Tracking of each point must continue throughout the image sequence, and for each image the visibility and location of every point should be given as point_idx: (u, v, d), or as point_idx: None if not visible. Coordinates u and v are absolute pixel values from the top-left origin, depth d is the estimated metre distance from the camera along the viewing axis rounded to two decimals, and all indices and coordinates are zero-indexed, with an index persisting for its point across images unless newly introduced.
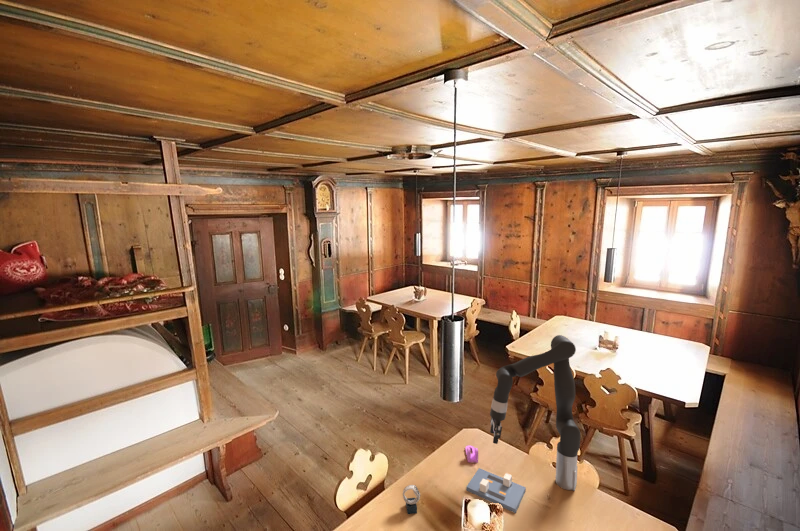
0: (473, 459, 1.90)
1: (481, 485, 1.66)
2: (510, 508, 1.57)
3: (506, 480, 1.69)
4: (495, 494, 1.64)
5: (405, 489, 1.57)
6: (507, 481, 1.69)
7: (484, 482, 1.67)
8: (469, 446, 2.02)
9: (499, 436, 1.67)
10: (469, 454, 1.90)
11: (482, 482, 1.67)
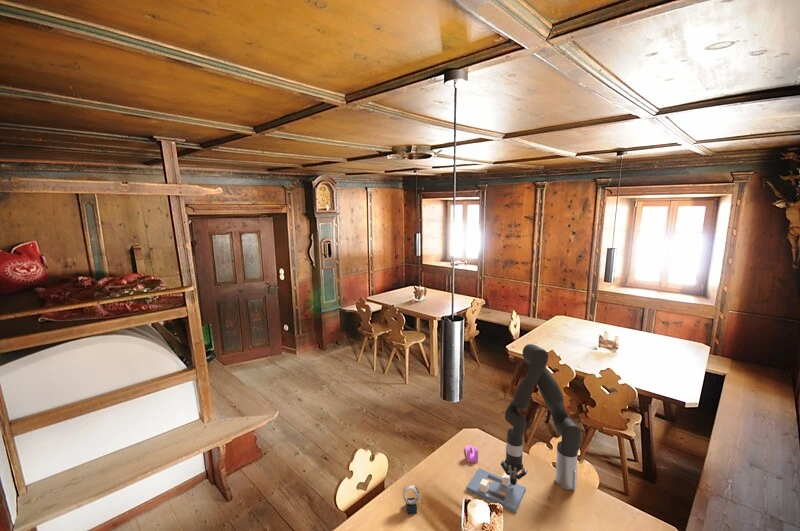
0: (473, 459, 1.90)
1: (481, 485, 1.66)
2: (510, 508, 1.57)
3: (505, 479, 1.69)
4: (495, 494, 1.64)
5: (405, 489, 1.57)
6: (505, 480, 1.69)
7: (484, 482, 1.67)
8: (469, 446, 2.02)
9: None
10: (469, 454, 1.90)
11: (482, 482, 1.67)
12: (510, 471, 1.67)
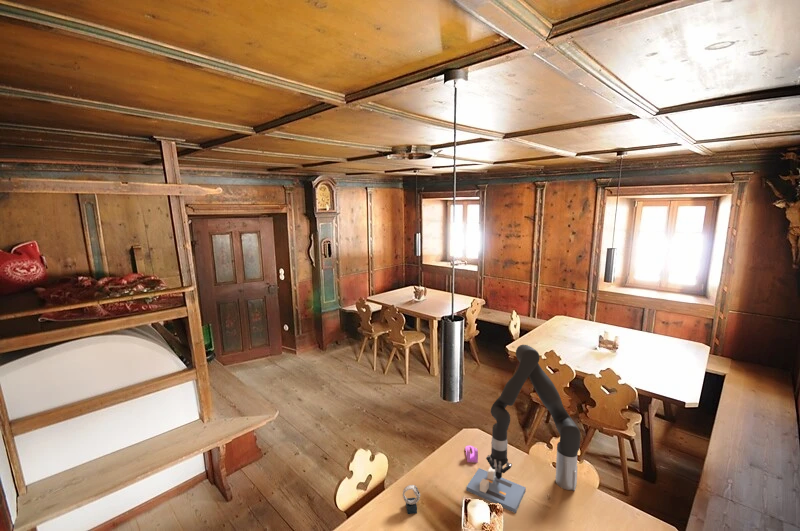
0: (473, 459, 1.90)
1: (481, 485, 1.66)
2: (510, 508, 1.57)
3: (490, 473, 1.73)
4: (495, 494, 1.64)
5: (405, 489, 1.57)
6: (491, 474, 1.73)
7: (484, 482, 1.67)
8: (469, 446, 2.02)
9: None
10: (469, 454, 1.89)
11: (482, 482, 1.67)
12: (495, 465, 1.71)
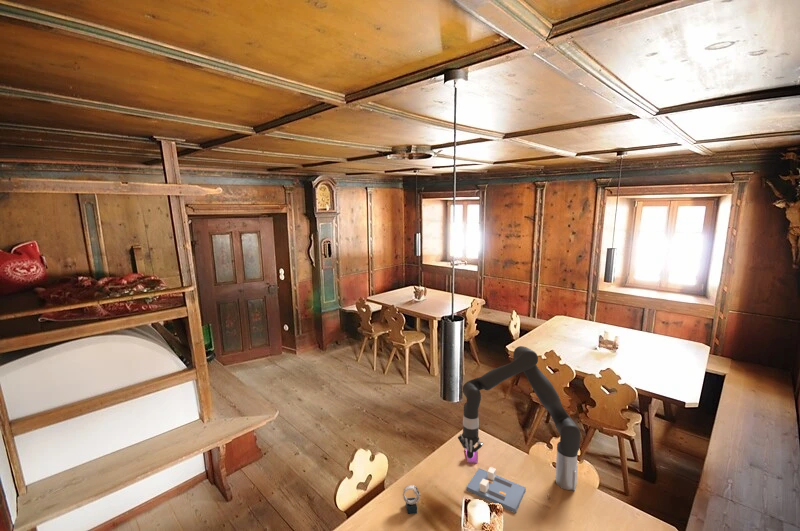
0: (473, 459, 1.90)
1: (481, 485, 1.66)
2: (510, 508, 1.57)
3: (490, 473, 1.73)
4: (495, 494, 1.64)
5: (405, 489, 1.57)
6: (491, 474, 1.73)
7: (484, 482, 1.67)
8: None
9: None
10: None
11: (482, 482, 1.67)
12: (466, 444, 1.69)
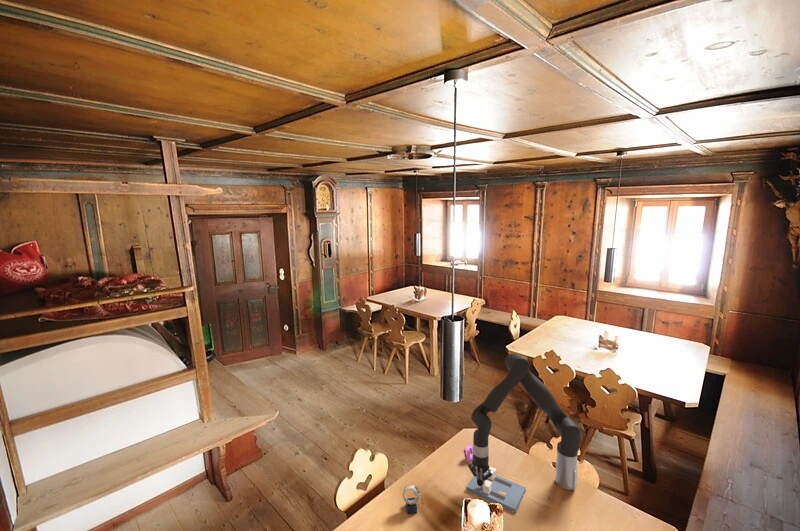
0: None
1: (484, 486, 1.65)
2: (510, 508, 1.57)
3: None
4: (495, 494, 1.64)
5: (405, 489, 1.57)
6: None
7: (487, 483, 1.66)
8: (469, 446, 2.01)
9: None
10: (469, 454, 1.89)
11: (485, 483, 1.66)
12: (476, 472, 1.67)
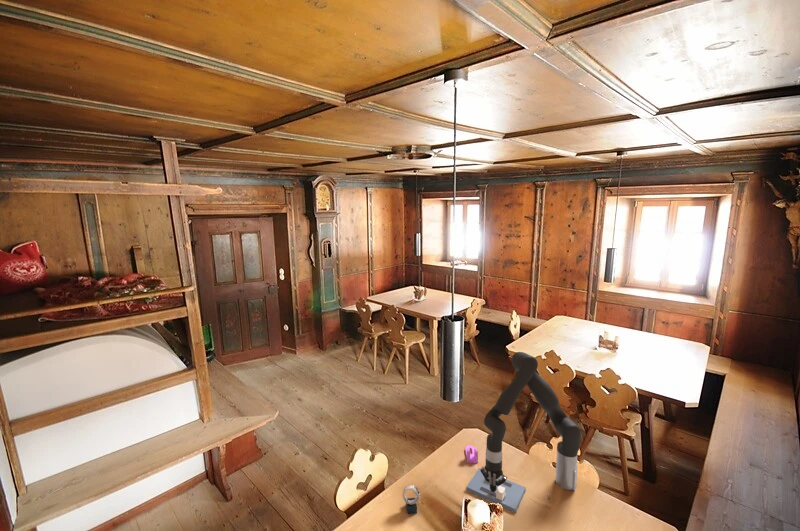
0: (473, 459, 1.90)
1: (497, 492, 1.61)
2: (510, 508, 1.57)
3: None
4: (495, 494, 1.64)
5: (405, 489, 1.57)
6: None
7: (500, 489, 1.62)
8: (469, 446, 2.01)
9: None
10: (469, 454, 1.89)
11: (498, 489, 1.62)
12: (490, 477, 1.63)
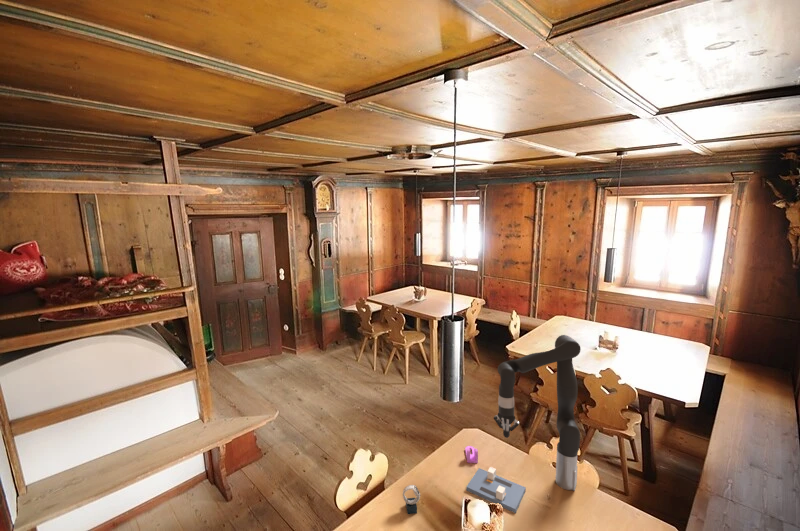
0: (473, 460, 1.90)
1: (497, 492, 1.61)
2: (510, 508, 1.57)
3: (490, 473, 1.73)
4: (495, 494, 1.64)
5: (405, 489, 1.57)
6: (491, 474, 1.73)
7: (500, 489, 1.62)
8: (469, 447, 2.01)
9: None
10: (469, 455, 1.89)
11: (498, 489, 1.62)
12: (503, 424, 1.71)
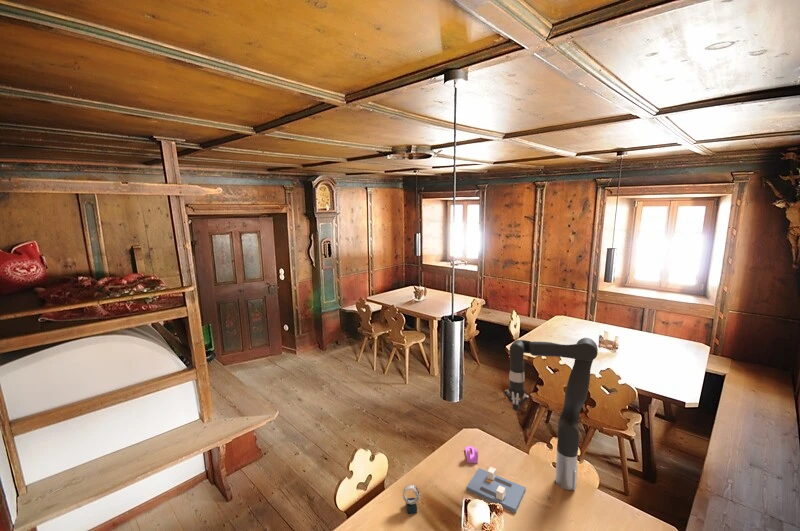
0: (473, 460, 1.90)
1: (497, 492, 1.61)
2: (510, 508, 1.57)
3: (490, 473, 1.73)
4: (495, 494, 1.64)
5: (405, 489, 1.57)
6: (491, 474, 1.73)
7: (500, 489, 1.62)
8: (469, 447, 2.01)
9: None
10: (469, 455, 1.89)
11: (498, 489, 1.62)
12: (513, 397, 1.81)
